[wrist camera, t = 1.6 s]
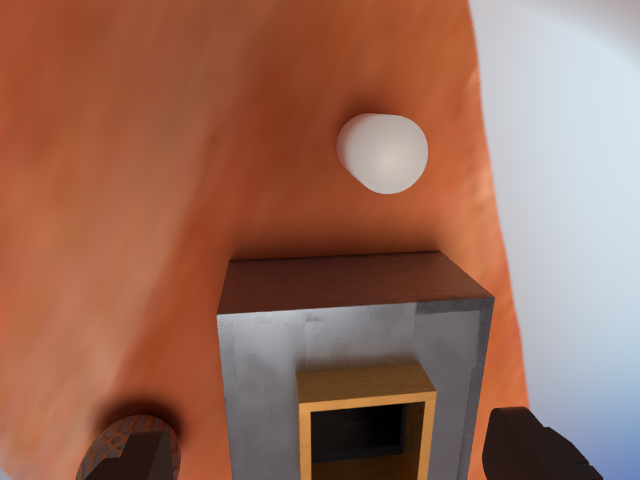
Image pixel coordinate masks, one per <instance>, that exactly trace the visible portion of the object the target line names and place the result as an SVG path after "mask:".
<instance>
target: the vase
mask: <svg viewBox="0 0 640 480" xmlns="http://www.w3.org/2000/svg"><path fill="white" fill-rule="evenodd" d="M154 429H167V430H168V433H169V440H170V449H171V459H172V468H173V477H174V480H177V479H178V475H179V470H180V463H181V452H180V445H179V442H178V439H177V436H176V434H175V432H174V431H173V429H172V428H171V427H170V426H169V425H168V424H167V423H166V422H165V421H163V420H161V419H159V418H157V417H155V416H151V415H132V416H128V417H125V418H123V419H120V420H118V421H116V422H114V423H113V424H111V425H110V426H109V427H107V428H106V429H105V430H104V431H103V432H102V433H101V434H100V435H99V436H98V437H97V438H96V439H95V440H94V442H93V443H92V444H91V446H90V447H89V449H88V450H87V452H86V454H85V456H84V458H83V460H82V462H81V464H80V466H79V469H78V472H77V476H76V480H84V479H85V478H86V477H87V476H88V475H89V474H90V473H91V472H92V471H93V470H94V468H95V467H96V466H97V465H98V464H99V463H100V462H101V461H102V460H103V459H104V458H115V457H120V456H121V454H122V451H123V449H124V447H125V444H126V442H127V440H128V437H129V435H130V434H131V432H132V431H138V430H154Z"/></svg>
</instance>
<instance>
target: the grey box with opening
mask: <svg viewBox="0 0 640 480" xmlns="http://www.w3.org/2000/svg"><path fill="white" fill-rule="evenodd" d="M494 300H495V297H494V296H493V295H491V294H490V293H489V292H488V291H487V290H485V289H484V288H483V287H482V286H481V285H480V284H478V283H477V282H476V281H475V280H474V279H473V278H471V277H470V276H469V275H468V274H467V273H465V272H464V271H463V270H462V269H461V268H460V267H458V266H457V265H456V264H455V263H454V262H452V261H451V260H450V259H449V258H448V257H447V256H445V255H444V254H443V253H442V252H441V251H422V252H400V253H379V254H358V255H337V256H316V257H295V258H274V259H253V260H232V261H229V265H228V269H227V273H226V277H225V282H224V286H223V290H222V294H221V298H220V303H219V307H218V311H217V325H218V335H219V346H220V356H221V366H222V377H223V387H224V398H225V408H226V418H227V429H228V439H229V450H230V460H231V470H232V480H467V476H468V469H469V463H470V456H471V449H472V443H473V436H474V430H475V423H476V417H477V410H478V404H479V397H480V391H481V384H482V378H483V371H484V365H485V358H486V352H487V345H488V339H489V332H490V326H491V319H492V313H493V306H494Z"/></svg>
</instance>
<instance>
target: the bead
mask: <svg viewBox="0 0 640 480" xmlns="http://www.w3.org/2000/svg"><path fill="white" fill-rule="evenodd" d="M336 151H337V156H338V159H339V161H340V163H341V165H342V166H343V167H344V169H345V170H347V171H348V172H349V173H350V174H351V175H352V176H354V177H355V178H356V179H357V180H358V181H360V182H361V183H362V184H363V185H365V186H366V187H367V188H369V189H370V190H372V191H374V192H377V193H381V194H394V193H398V192H401V191H403V190H405V189H407V188H409V187H410V186H412V185H413V184H414V183H415V182H416V181H417V180H418V179H419V177H420V176H421V174H422V173H423V171H424V169H425V166H426V163H427V158H428V145H427V141H426V138H425V135H424V134H423V132H422V130H421V129H420V128H419V126H418V125H417V124H416V123H414V122H413V121H412V120H410V119H408V118H405V117H403V116H398V115H386V114H375V113H364V114H360V115H357V116H355V117H353V118H352V119H350V120H349V121H348V122H347V123H346V124H345V125H344V126H343V127H342V129H341V131H340V133H339V135H338V138H337V144H336Z"/></svg>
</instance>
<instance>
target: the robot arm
mask: <svg viewBox="0 0 640 480" xmlns="http://www.w3.org/2000/svg"><path fill="white" fill-rule="evenodd" d="M482 463H483V468H484V472H485V475H486V478H487V480H603V477H602V476H601V475H600V474H599V473H598V472H597V470H595V468H594V467H593V466H590V465H589V462H588V460H587V459H586V458H585V457H584V456H583V455H582V454H581V453H580V452H579V450H578V449H577V448H576V447H575V446H574V445H573V444H572V443H571V442H570V441H568V440H567V439H566V438H564V437H563V436H561V435H560V434H558V433H557V432H556V431H554V430H553V429H551V428H550V427H543V425H542V424H541V423H540V422H539V421H538V420H537V419H536V417H535V416H534V415H533V414H532V413H531V412H530V410H529V409H527V408H526V407H522V406H521V407H506V408H494V409H493V410H492V411H491V414H490V418H489V423H488V428H487V433H486V438H485V443H484V448H483V453H482ZM84 480H174V477H173V468H172V459H171V449H170V440H169V433H168V430H167V429H154V430H138V431H132V432H131V434H130V435H129V437H128V440H127V442H126V444H125V447H124V449H123V451H122V454H121V456H120V457H115V458H104V459H103V460H102V461H101V462H100V463H99V464H98V465H97V466H96V467H95V468H94V470H93V471H92V472H91V473H90V474H89V475H88V476H87V477H86V478H85V479H84Z"/></svg>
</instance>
